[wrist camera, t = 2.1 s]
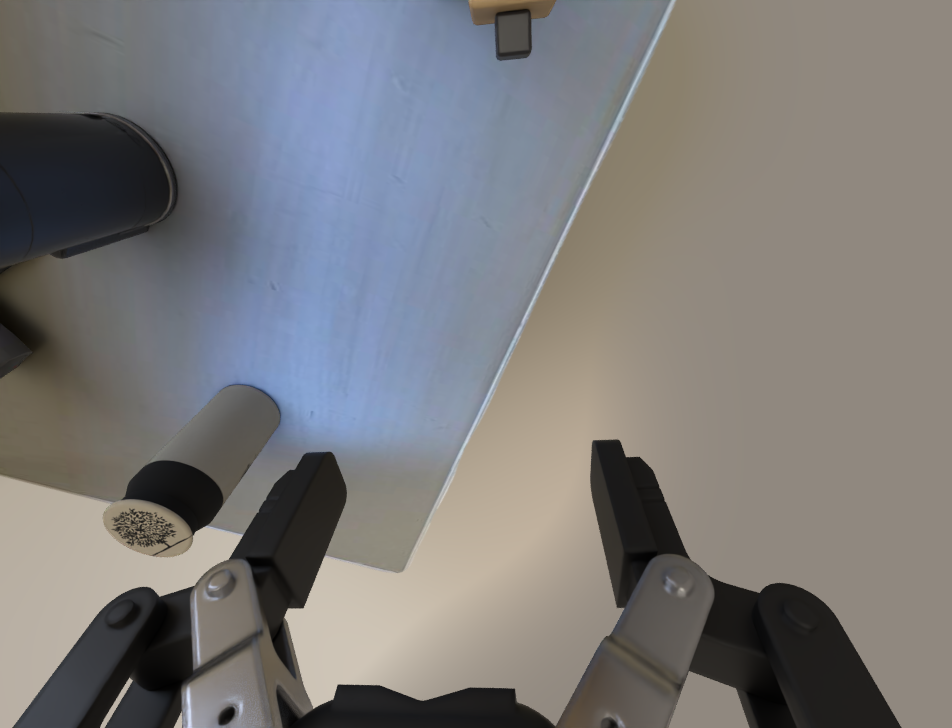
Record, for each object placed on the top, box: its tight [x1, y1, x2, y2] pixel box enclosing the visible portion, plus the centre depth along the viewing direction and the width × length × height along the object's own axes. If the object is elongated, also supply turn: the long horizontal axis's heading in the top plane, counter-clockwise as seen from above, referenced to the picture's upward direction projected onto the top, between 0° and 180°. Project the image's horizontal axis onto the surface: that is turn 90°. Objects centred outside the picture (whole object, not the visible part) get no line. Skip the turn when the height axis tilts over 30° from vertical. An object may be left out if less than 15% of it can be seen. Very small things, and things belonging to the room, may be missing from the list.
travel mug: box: [103, 385, 280, 557], centre depth 44 cm, size 8×8×18 cm
